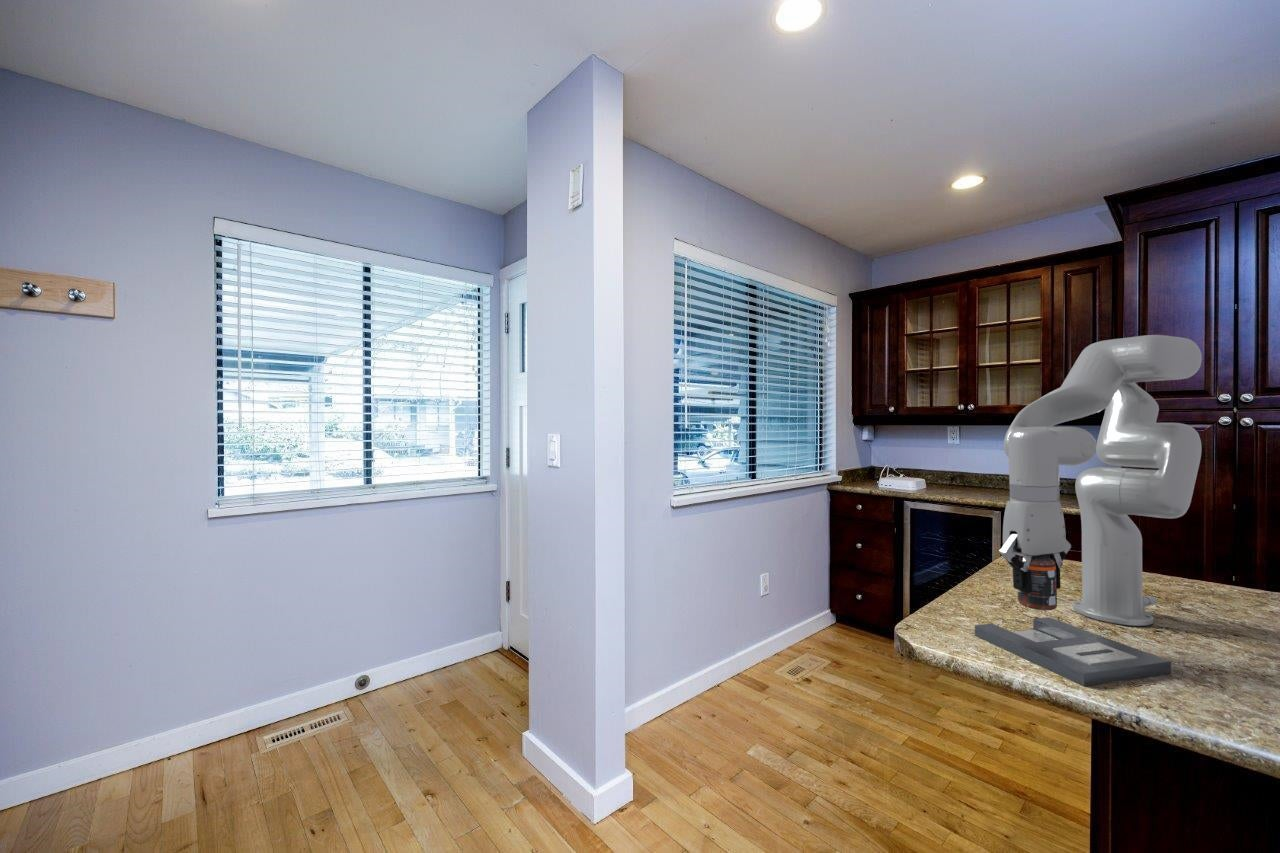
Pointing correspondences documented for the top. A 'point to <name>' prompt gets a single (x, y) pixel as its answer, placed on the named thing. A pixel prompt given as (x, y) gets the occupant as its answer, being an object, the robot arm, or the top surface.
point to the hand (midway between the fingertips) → (1036, 587)
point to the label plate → (1075, 652)
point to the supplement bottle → (1040, 584)
